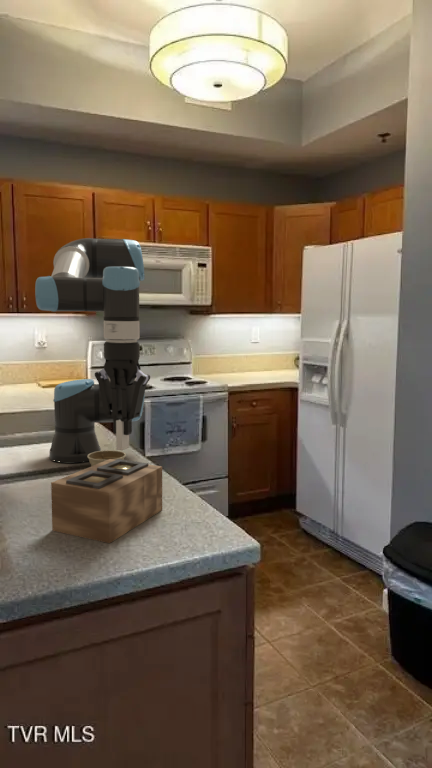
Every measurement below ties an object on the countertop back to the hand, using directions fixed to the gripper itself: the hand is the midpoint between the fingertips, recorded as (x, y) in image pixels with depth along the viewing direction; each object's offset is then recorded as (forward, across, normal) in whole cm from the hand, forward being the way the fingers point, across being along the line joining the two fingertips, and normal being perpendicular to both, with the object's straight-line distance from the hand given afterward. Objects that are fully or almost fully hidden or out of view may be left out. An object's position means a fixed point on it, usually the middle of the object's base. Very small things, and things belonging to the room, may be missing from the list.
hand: (122, 448), depth 120 cm
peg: (+12, 0, -1) cm, 12 cm away
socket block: (+14, 0, -6) cm, 15 cm away
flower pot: (+15, -13, +11) cm, 23 cm away
